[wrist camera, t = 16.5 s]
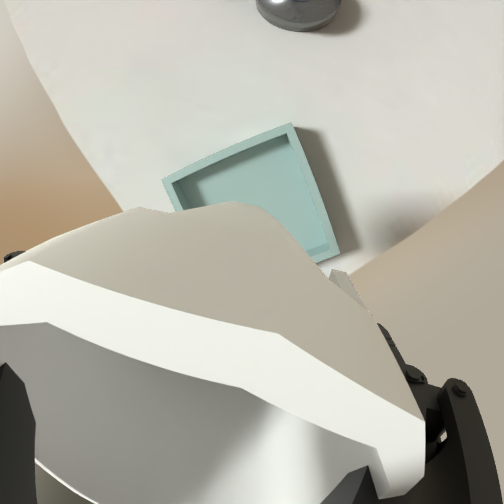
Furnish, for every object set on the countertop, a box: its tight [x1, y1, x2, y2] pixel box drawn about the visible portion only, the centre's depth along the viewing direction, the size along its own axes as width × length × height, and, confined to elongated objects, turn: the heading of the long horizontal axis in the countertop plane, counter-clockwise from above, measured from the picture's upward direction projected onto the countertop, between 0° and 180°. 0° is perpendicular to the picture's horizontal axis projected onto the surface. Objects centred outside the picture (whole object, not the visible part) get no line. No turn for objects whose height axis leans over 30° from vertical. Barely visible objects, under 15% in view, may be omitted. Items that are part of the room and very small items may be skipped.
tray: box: [161, 123, 340, 263], centre depth 28 cm, size 14×14×3 cm
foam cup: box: [0, 201, 425, 504], centre depth 9 cm, size 10×9×13 cm
